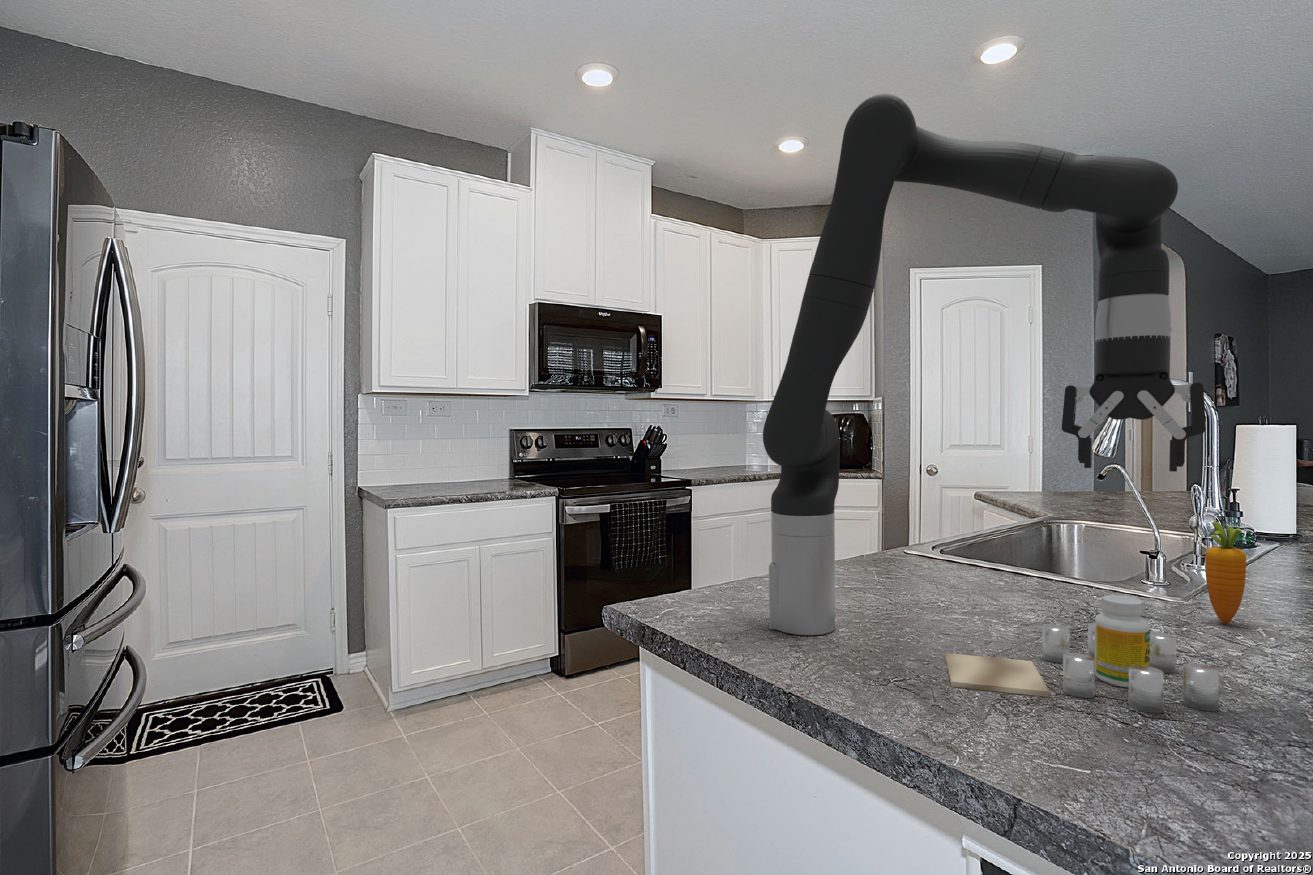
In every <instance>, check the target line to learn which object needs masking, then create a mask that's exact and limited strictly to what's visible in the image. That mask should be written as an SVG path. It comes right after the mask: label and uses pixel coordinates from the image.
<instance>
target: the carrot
mask: <svg viewBox="0 0 1313 875" xmlns="http://www.w3.org/2000/svg"><path fill="white" fill-rule="evenodd" d="M1212 526H1213V528H1214V530H1215V531H1214V534H1211V535H1210V537H1211V538H1212V539H1213V541H1215V542H1216V543H1217V544H1218V545H1219V546H1212V547H1209V548H1207V550H1206V551H1205V555H1204V559H1205V560H1204V562H1205V563H1204V564H1205V581H1206V588H1207V593H1208V597H1209V600H1210V604H1211V607H1212V608H1213V611H1214V614H1216V617H1217V618H1218V620H1219V621H1220V622H1221V624H1223V625H1225V626H1226V625H1228V624H1229V623H1231V622H1232V620H1233V619H1234V617H1235V616H1236V615H1237V613H1238V610H1239V608H1240V606H1241V603H1242V600H1243V595H1244V592H1245V586H1246V573H1247V554H1246V553H1245V551H1244V550H1242V549H1240V548H1236V547H1234V544H1235V543H1236V541H1237V539H1238V537H1239V535H1240V534H1241V533H1242V531H1243V530H1242V529H1240V528H1239V527H1238V528H1236V529H1235V528H1234V527H1232V526H1227V527H1226V529H1227V530H1226V531H1227V532H1226V531H1225V529H1224V527H1223V526H1222V524H1221V523H1220V522H1219V521H1214V522H1213V523H1212ZM1227 535H1228V536H1227Z"/></svg>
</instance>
